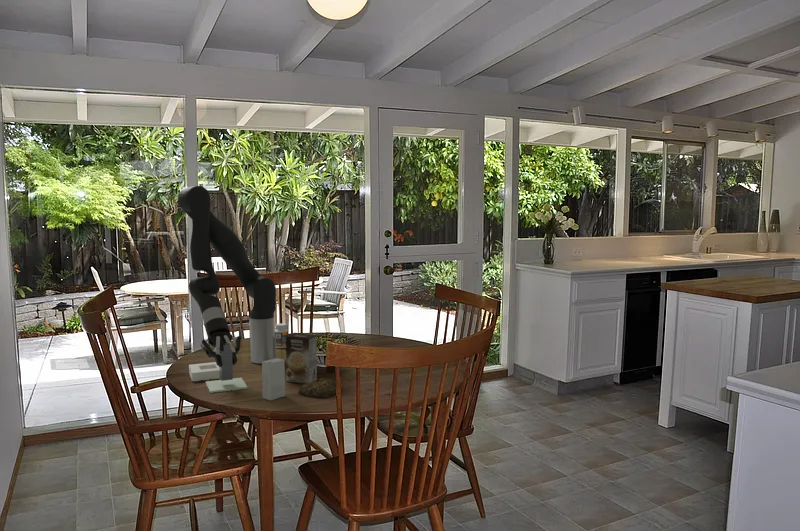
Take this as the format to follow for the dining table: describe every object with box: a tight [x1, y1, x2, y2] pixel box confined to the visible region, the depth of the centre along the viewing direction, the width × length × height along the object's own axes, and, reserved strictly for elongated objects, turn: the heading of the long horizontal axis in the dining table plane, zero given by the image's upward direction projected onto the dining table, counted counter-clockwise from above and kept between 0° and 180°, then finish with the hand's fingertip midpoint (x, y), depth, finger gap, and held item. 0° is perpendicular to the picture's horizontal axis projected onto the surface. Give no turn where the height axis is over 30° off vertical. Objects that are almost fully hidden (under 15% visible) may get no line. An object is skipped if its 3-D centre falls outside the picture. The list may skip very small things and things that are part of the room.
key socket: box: [188, 361, 220, 382], centre depth 219 cm, size 12×12×3 cm
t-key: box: [219, 342, 234, 381], centre depth 205 cm, size 4×5×12 cm
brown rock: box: [298, 376, 337, 399], centre depth 199 cm, size 13×12×5 cm
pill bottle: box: [274, 322, 289, 349], centre depth 261 cm, size 6×6×10 cm
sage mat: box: [205, 377, 248, 394], centre depth 206 cm, size 12×12×1 cm
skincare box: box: [261, 357, 286, 401], centre depth 193 cm, size 6×4×12 cm
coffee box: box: [285, 332, 318, 384], centre depth 212 cm, size 9×6×16 cm
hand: (227, 364), depth 203 cm, fingers closed on t-key, 4 cm apart
